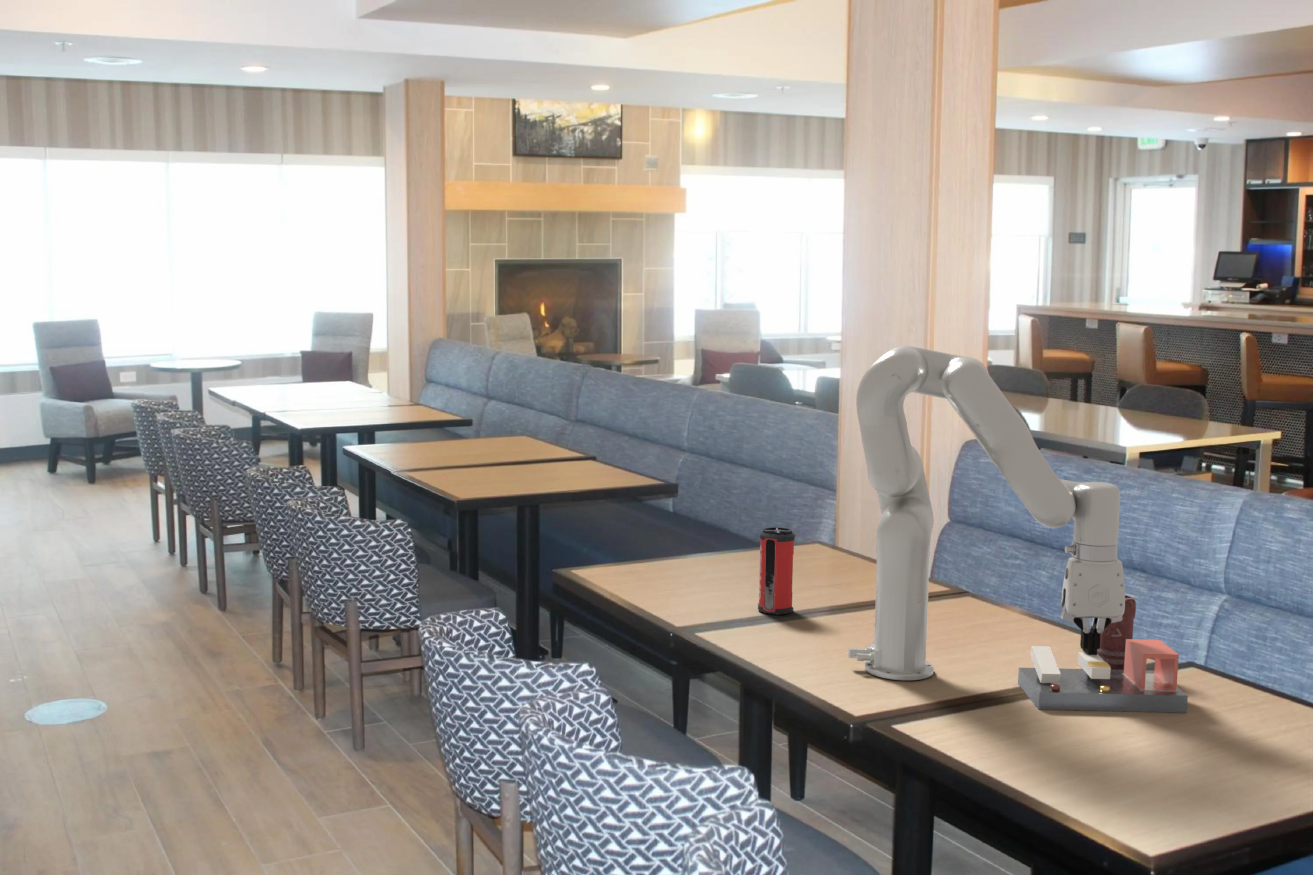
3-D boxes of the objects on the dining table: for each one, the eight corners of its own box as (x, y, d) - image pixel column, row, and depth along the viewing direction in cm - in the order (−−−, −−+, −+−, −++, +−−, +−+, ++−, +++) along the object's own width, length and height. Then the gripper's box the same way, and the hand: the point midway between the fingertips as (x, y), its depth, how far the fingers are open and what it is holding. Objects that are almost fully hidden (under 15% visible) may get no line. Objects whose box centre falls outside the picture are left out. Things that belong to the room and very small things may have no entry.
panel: (1038, 709, 221) (1039, 685, 221) (1017, 683, 235) (1019, 660, 235) (1186, 712, 221) (1188, 688, 220) (1157, 686, 235) (1158, 663, 234)
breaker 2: (1091, 678, 224) (1092, 666, 224) (1077, 662, 232) (1078, 651, 232) (1110, 678, 224) (1110, 666, 224) (1095, 663, 232) (1096, 651, 232)
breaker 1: (1040, 682, 225) (1042, 673, 224) (1030, 654, 232) (1031, 645, 232) (1059, 683, 225) (1060, 674, 224) (1048, 655, 232) (1049, 646, 231)
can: (1134, 675, 241) (1138, 601, 239) (1098, 672, 242) (1102, 599, 240) (1129, 665, 247) (1133, 593, 245) (1094, 663, 248) (1098, 591, 246)
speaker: (794, 615, 279) (797, 533, 277) (759, 615, 280) (761, 533, 277) (791, 606, 287) (793, 526, 285) (756, 606, 287) (758, 526, 285)
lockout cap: (1141, 689, 223) (1143, 653, 222) (1123, 673, 232) (1125, 639, 231) (1176, 690, 223) (1178, 654, 222) (1157, 673, 232) (1159, 639, 231)
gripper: (1059, 556, 226) (1054, 659, 228) (1144, 557, 226) (1139, 659, 228) (1046, 547, 233) (1041, 646, 236) (1128, 548, 234) (1123, 647, 236)
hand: (1089, 652), depth 232 cm, fingers closed
